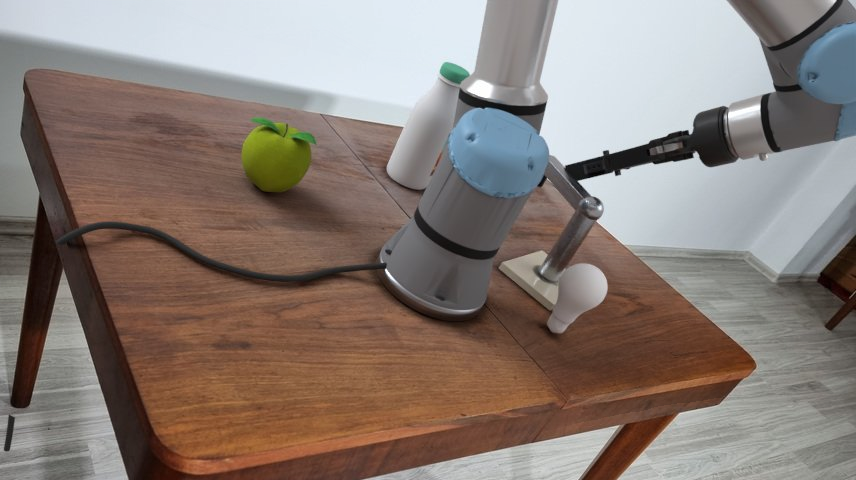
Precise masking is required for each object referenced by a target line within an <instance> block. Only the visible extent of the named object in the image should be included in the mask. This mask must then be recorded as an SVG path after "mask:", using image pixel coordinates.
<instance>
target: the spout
mask: <svg viewBox="0 0 856 480" xmlns="http://www.w3.org/2000/svg"><path fill="white" fill-rule="evenodd" d="M547 180H548V181H549V182H550V183H551V184H552V186H554V188H555V189H556V190H557V192H559V194H560V195H561V196H562V198H564V199H565V201H566V202H567V203H568V204H569V205H570V206H571V207H572V209H574V213H573V214H572V216H571V217H570V219H569V221H568V222H567V224H566V226H565V227H564V229H562V231H561V234H560V235H559V236H558V237H557V240H556V241H555V243H554V245H552V247H551V249H550V250H549V252H548V253H547V255H548V256H547V257H546V259H545V260H544V262H543V264H542V265H541V267H540V268H539V272H540V274H541V275H542V276H543V277H545V278H546V279H548V280H551V281H557V280H558V279H559V277H560V276H561V274H562V273H563V271H564V270H565V269H567V268H568V265H569V264H570V262H571V261H572V259H573V258H574V256H575V254H576V253H577V252H578V250H579V248H580V247H581V246H582V244H583V242H584V241H585V239H586V238H587V236H588V235H589V233H590V232H591V230H592V229H593V227H594V226H595V224H597V223H596V222H597V221H598V220H599V219H600V218H601V217H602V216H603V214H604V213H605V212H604V211H605V205H604V203H603V202H602V200H601V199H599V198H598V197H597V196H594V195H593V196H592V195H591V194H590V192H588V191H587V190H586V188H585V187H584V186H583V185H582V184H581V182H579V181H577V180H576V179H575V178H574V177H573V176H572V175H571V174H570V172H569V171H568V170H567V169H566V168H565V165H564V164H563V163H561V162H560V160H559V159H558V158H557V157H556V156H555V155H551V154H549V161H548V164H547V166H546V168H545V172H544V175H543V178H542V179H541V181H540V183H539V184H538V185H537V187H536V188H543V186H544V184H546V181H547Z"/></svg>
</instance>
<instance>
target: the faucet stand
mask: <svg viewBox="0 0 856 480" xmlns="http://www.w3.org/2000/svg"><path fill="white" fill-rule="evenodd" d="M547 256H548V253H546V252H545V251H544V250H542V249H540V250H538V251H534V252H531V253H529V254H525V255H522V256H518V257H515V258H512V259H509V260H504V261H502V262H501V263H500V265H499V267H498V270H499V271H501V272H502V273H503V274H504V275H506V276H507V277H508V278H509V279H511V280H512V281H513V282H514V283H515V284H517V285H518V286H519V287H520V288H522V290H524V291H525V292H526V293H528V295H530V296H531V297H532V298H534V299H535V301H537V302H539V303H540V305H542V306H543V307H545V309H547V310H548V311H553V308H554V306H555V304H556V302H557V299H558V287H559V280H560V277H561V276H560V277H559V279H558V280H557V281H551V280H548V279H546V278H545V277H543V276H542V275H541V274H540V272H539V268H540V267H541V265H542V264H543V262H544V260H545V259H546V257H547ZM566 269H567V268H565V270H566ZM565 270H564V271H565ZM564 271H563V272H564ZM562 274H563V273H562ZM562 274H561V275H562Z"/></svg>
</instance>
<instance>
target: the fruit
mask: <svg viewBox="0 0 856 480" xmlns="http://www.w3.org/2000/svg"><path fill="white" fill-rule="evenodd" d="M250 121H251V122H254V123H256V124H258V125H259V126H257V127H255V128H254V129H252V131H251V132H249V134H248V135H247V137H246V138H245V140H244V141H243V145H242V148H241V159H240V160H241V165H242V168H243V171H244V173H245V175H246V178H248V180H249V181H250V182H251V183H252V184H253V185H255V186H256V187H258V189H259V190H260V191H263V192H265V193H266V192H268V193H283V192H286V191H288V190H291V189H292V188H294V187H296V186H297V185H298V184H299V183H300V182H301V181H302V180H303V179H304V177H305V176H306V174H307V173H308V170H309V169H310V166H311V162H312V148H311V145H310V144H313V145H315V146H317V140H316V139H315V136H314V135H313V134H311V132H308V131H301V130H299V129H297V128H295V127H294V128H293V127H291V126H290V125H289V123H288V122H287V123H284V122H273V121H272V120H270V119H268V118H266V117H262V116H261V117H260V116H256V117H251V118H250Z"/></svg>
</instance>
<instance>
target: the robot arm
mask: <svg viewBox="0 0 856 480" xmlns="http://www.w3.org/2000/svg"><path fill="white" fill-rule="evenodd" d="M726 1H727V3H728V4H729V5H730V6H731V7H732V9H733V10H734V11H735V12H736V13H737V14H738V15H739V17H740V18H741V19H742V20H743V21H744V22H745V23H746V25H747V26H748V27H749V28H750V29H751V30H752V32H753V33H754V34H755V35H756V36H757V37H758V40H759V42H760V46H761V49H762V52H763V55H764V58H765V61H766V64H767V67H768V71H769V74H770V76H771V80H772V85H773V88H774V91H772V92H768V93H767V92H766V93H763V94H759V95H755V96H753V97H749V98H745V99H740V100H738V101H734V102H731V103H730V104H729V106H726V105H722V106H718V107H713V108H710V109H707V110H703V111H700V112H698V113H697V114H696V115H695V116H694V119H693V122H692V127H693V128H692V132H691V133H690V131H689V129H686V130H678V131H677V130H676V131H673V132H670V133H668V134H667V135H666V136H662V137H659V138H655V139H651V140H650V141H648V143H645V144H642V145H638V146H637V145H636V146H634V147H631V148H627V149H622V150H619V151H615V152H612V153H610V149H606V150H602V155H601V156H597V157H593V158H589V159H588V158H587V159H585V160H581V161H577V162H574V163H570V164H565V165H564V167H565V168H566V169H567V170H568V171H569V172H570V174H571V175H572V176H573V177H574V178H575V179H576V180H577V181H578V182H579V181H583V180H589V179H592V178H597V177H599V176H605V175H608V174H612V173H614V176H615V177H618V176H622V172H621V171H622V170H630V169H631V168H635V167H641V166H643V165H648V164H653V165H661V164H665V163H671V162H674V163H677V162H682V161H686V160H691V159H694V158H695V156H694V154H697V155H698V158H699V160H700V161H701V163H702V164H703V166H705V167H707V168H714V167H720V166H725V165H729V164H734V163H736V162H737V161H738V160H739V159H741V160H742V161H746V160H749V159H754V158H759V161H761V162H763V161H767V160H769V154H770V155H772V154H778V153H782V152H785V151H790V150H794V149H800V148H805V147H810V146H815V145H819V144H824V143H829V142H839V141H841V140H844V139H847V138H851V137H855V136H856V8H855V7H854V6H853V4H852V3H851V2H850V0H726ZM558 5H559V0H486V5H485V10H484V16H483V21H482V26H481V32H480V39H479V44H478V48H477V55H476V60H475V66H474V71H473V72H472V73H471V74H470V76H468V77H467V78H466V79H464V80H463V81H462V82H461V84H460V90H459V95H458V101H457V107H456V112H455V118H454V124H453V129H452V132H451V135H450V137H449V141H448V143H447V145H446V147H445V149H444V152H443V154H442V156H441V158H440V161H439V163H438V165H437V167H436V169H435V171H434V173H433V175H432V177H431V179H430V181H429V184H428V186H427V187H426V188H425V189H424V192H423V194H422V196H421V198H420V200H419V202H418V205H417V206H416V209H415V211H414V213H413V214H412V216H411V217H410V219H409V220H408V221H407V222H406V223H404V225H403V226H402V227H400V229H398V230H397V232H395V233H394V234H393V235H392V236H391V237H390V238H389V239H388V240H387V241H386V242H385V243H384V244H383V246H382V247H381V250H380V252H379V253H378V255H377V258H376V261H375V262H373V263H364V264H363V263H361V264H352V265H342V266H335V267H329V268H324V269H320V270H316V271H313V272H309V273H304V274H303V273H302V274H292V275H291V274H290V275H288V274H287V275H286V274H274V273H273V274H271V273H264V272H259V271H258V272H257V271H252V270H248V269H244V268H240V267H236V266H233V265H230V264H226V263H224V262H221V261H217V260H215V259H213V258H210V257H208V256H205V255H204V254H201V253H200V252H198V251H196V250H194V249H193V248H191V247H190V246H188V245H187V244H185V243H184V242H182V241H180V240H178V239H177V238H175V237H174V236H172V235H170V234H169V233H166V232H164V231H161V230H160V229H158V228H157V229H156V228H154V227H150V226H147V225H142V224H135V223H129V222H123V221H99V222H93V223H89V224H86V225H83V226H80V227H78V228H76V229H73V230H72V231H70V232H68V233H66V234H64V235H62V236H61V237H59V238H58V239H57V240H55V244H56V245H58V246H63V245H66V244H67V243H69V242H70V241H72V240H74V239H76V238H78V237H80V236H82V235H85V234H88V233H91V232H94V231H99V230H108V229H109V230H110V229H111V230H112V229H113V230H123V231H131V232H136V233H137V232H138V233H143V234H146V235H147V234H148V235H151V236H153V237H156V238H159V239H161V240H163V241H165V242H167V243H169V244H170V245H172V246H174V247H175V248H177V249H179V250H180V251H181V252H183V253H184V254H186V255H188V256H189V257H191V258H193V259H194V260H196V261H198V262H200V263H202V264H205V265H207V266H210V267H212V268H215V269H218V270H220V271H224V272H226V273H230V274H234V275H238V276H241V277H245V278H249V279H255V280H259V281H268V282H280V283H297V282H298V283H299V282H307V281H310V280H315V279H319V278H321V277H326V276H330V275H335V274H341V273H350V272H353V273H354V272H362V271H373V270H375V271H376V274H377V276H378V278H379V280H380V281H381V282H382V284H383V286H384V287H385V288H386V289H387V290H388V291H389V292H390V293H391V294H392V295H393V296H394V297H395V298H396V299H398V300H399V301H400V302H401V303H403V304H405V306H406V305H407V306H408V307H409V308H410V309H413V310H414V311H417V312H419V313H420V314H423V315H425V316H427V317H431V318H434V319H436V320H442V321H447V322H463V321H468V320H472V319H473V318H474V317H477V315H478V314H479V313H480V311H481V309H482V308H483V306H484V305H485V304H486V303H485V302H486V301H487V298H488V292H489V286H490V281H491V275H492V271H493V270H492V269H493V266H494V265H493V264H494V259H495V257H496V256H497V254H498V252H499V250H500V248H501V247H502V245H503V243H504V242H505V240H506V238H507V237H508V235H509V233H510V231H511V229H512V228H513V227H514V225H515V223H516V221H517V219H518V218H519V216H520V215H521V213H522V211H523V209H524V208H525V206H526V204H527V202H528V200H529V199H530V197H531V195H532V194H533V192H534V190H535V189H536V188H538V187H537V185H538V184H539V183H540V181H541V179H542V178H543V175H544V172H545V168H546V166H547V164H548V161H549V155H550V149H549V146H548V143H547V141H546V140H545V138H544V137H543V136H542V135H540V134H541V130H542V125H543V121H544V118H545V117H544V116H545V112H546V108H547V104H548V99H549V95H548V92H546V90H545V88H544V87H543V85H542V84H541V77H542V75H543V74H542V73H543V69H544V65H545V61H546V56H547V51H548V47H549V45H550V44H549V43H550V39H551V35H552V30H553V26H554V22H555V17H556V12H557V8H558ZM15 421H16V417H15V416H13V415H11V414H8V419H7V426H6V433H5V439H4V446H3V451H4V452H10V451H11V447H12V442H13V437H14V436H13V435H14V427H15Z"/></svg>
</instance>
